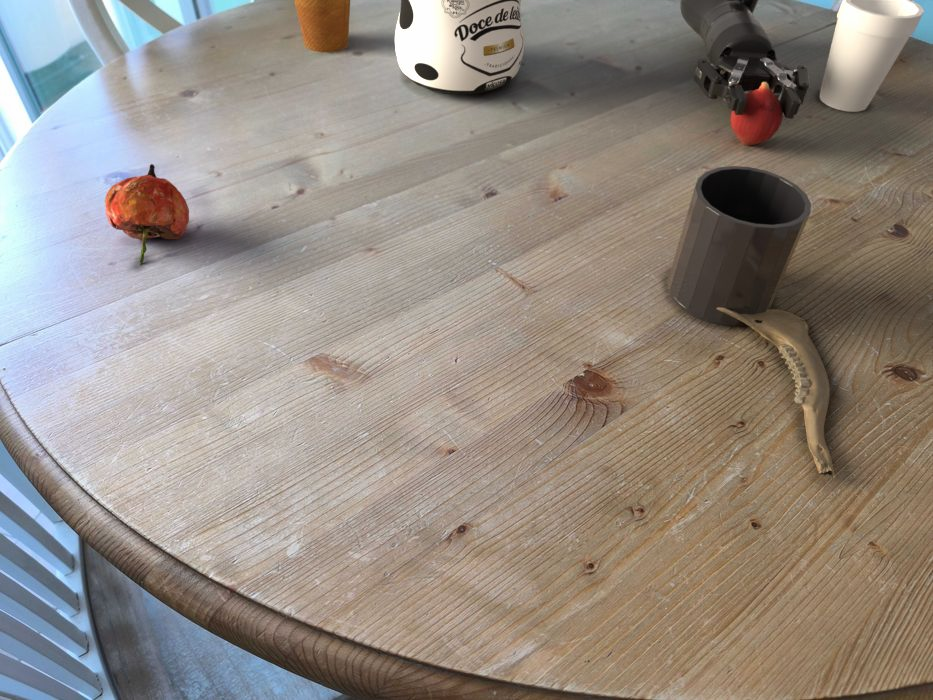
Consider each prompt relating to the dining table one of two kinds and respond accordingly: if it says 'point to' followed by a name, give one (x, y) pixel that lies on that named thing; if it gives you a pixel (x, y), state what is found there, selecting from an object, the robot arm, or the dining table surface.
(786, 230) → the tumbler
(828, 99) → the foam cup
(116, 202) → the orange pumpkin
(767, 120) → the onion
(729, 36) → the robot arm
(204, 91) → the dining table surface
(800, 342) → the jawbone
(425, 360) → the dining table surface
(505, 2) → the doce de leite jar
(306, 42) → the disposable coffee cup
